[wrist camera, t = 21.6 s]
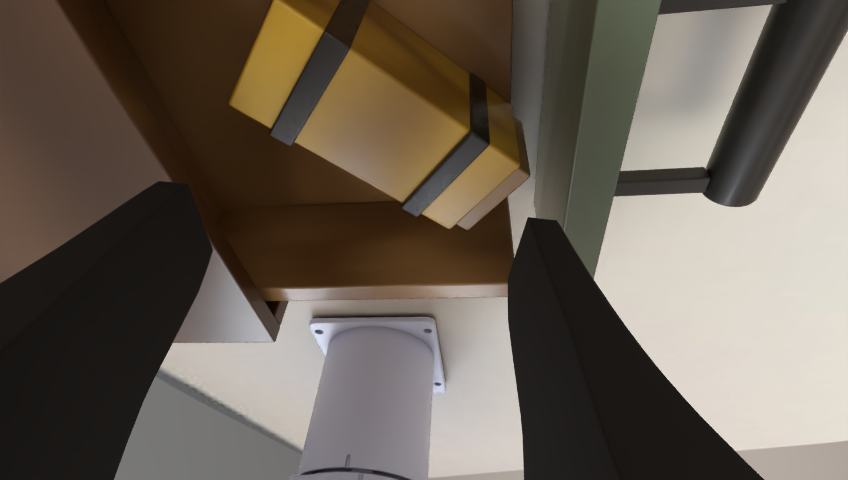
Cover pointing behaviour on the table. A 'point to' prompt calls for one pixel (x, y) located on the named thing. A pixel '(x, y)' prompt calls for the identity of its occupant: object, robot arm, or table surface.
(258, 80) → the pencil bundle
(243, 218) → the drawer
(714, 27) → the table surface
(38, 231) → the cabinet
